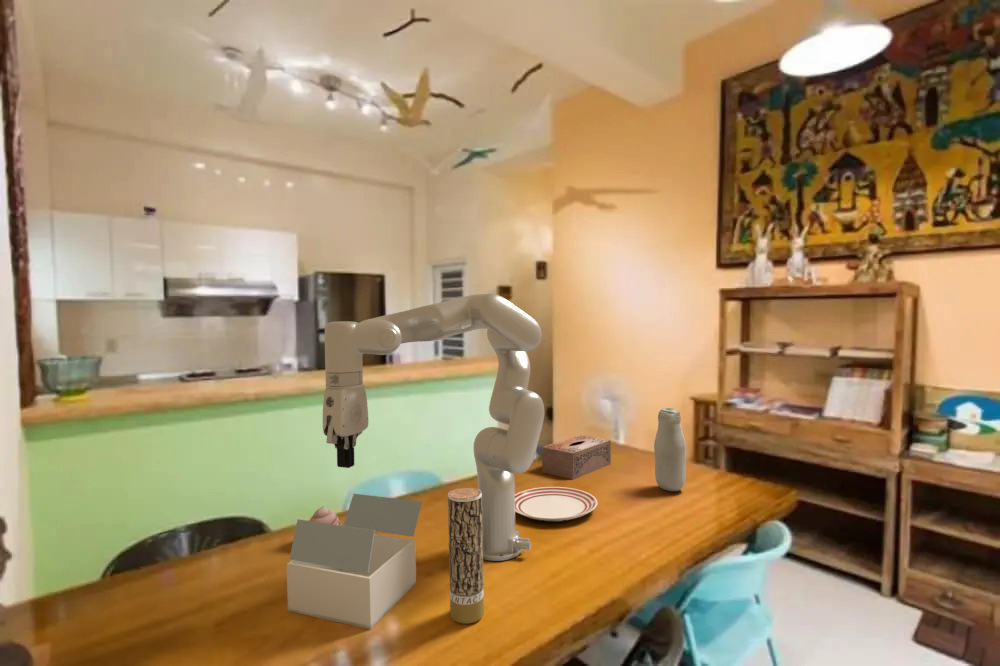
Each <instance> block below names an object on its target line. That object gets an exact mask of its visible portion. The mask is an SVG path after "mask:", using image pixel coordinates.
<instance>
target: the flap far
mask: <svg viewBox="0 0 1000 666" xmlns="http://www.w3.org/2000/svg"><path fill="white" fill-rule="evenodd" d="M352 494H353V495H352V497H351V501H350V504H349V507H348V510H347V513H346V517H345V520H344V521H343V522H344V523H343V525H342V526H348V527H354V528H361V529H368V530H375V532H380V533H384V534H385V533H386V534H392V535H399V536H405V537H414V536H415V535H414V534H415V531H416V527H417V523H418V519H419V516H420V512H421V508H422V505H423V501H418V500H410V499H403V498H394V497H386V496H378V495H369V494H360V493H352Z"/></svg>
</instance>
